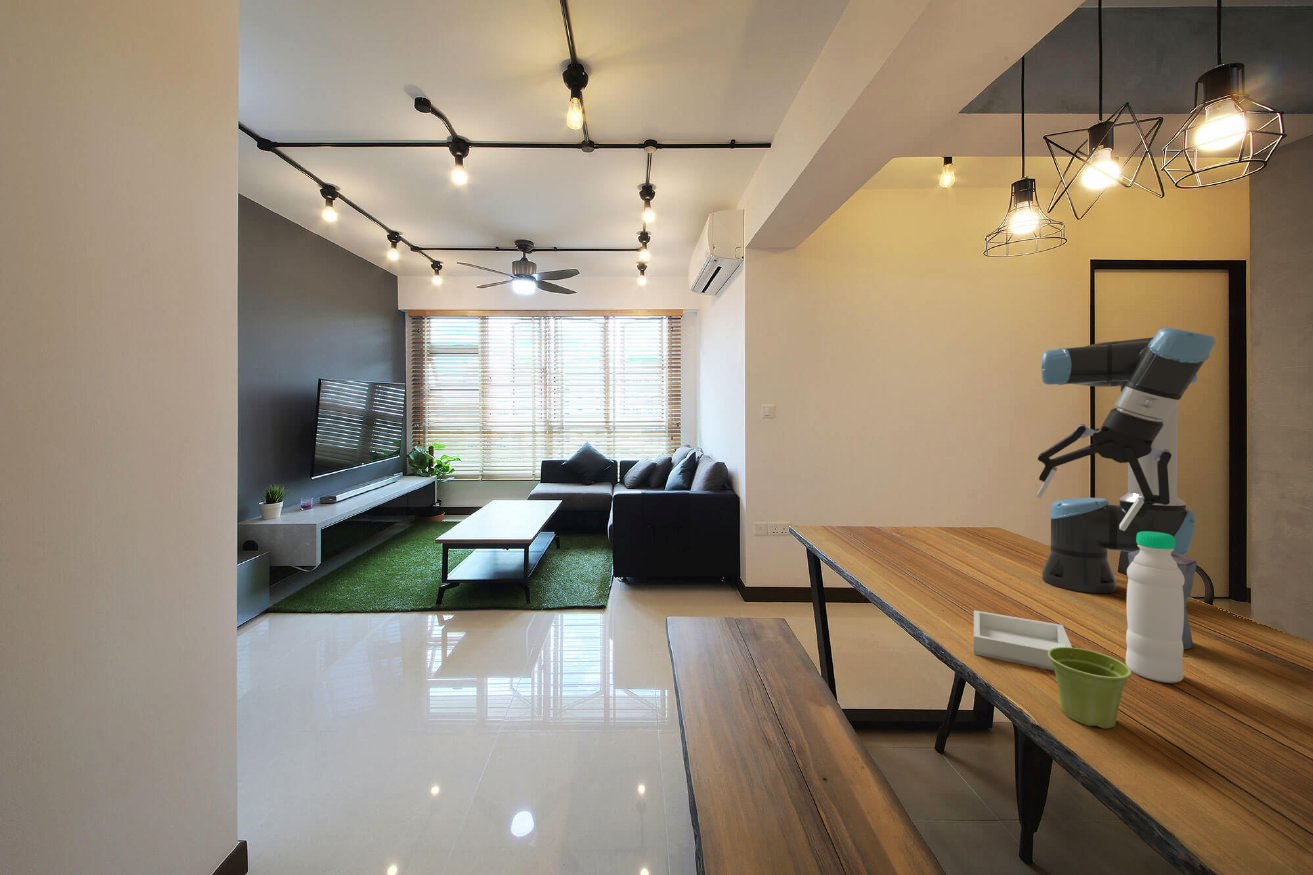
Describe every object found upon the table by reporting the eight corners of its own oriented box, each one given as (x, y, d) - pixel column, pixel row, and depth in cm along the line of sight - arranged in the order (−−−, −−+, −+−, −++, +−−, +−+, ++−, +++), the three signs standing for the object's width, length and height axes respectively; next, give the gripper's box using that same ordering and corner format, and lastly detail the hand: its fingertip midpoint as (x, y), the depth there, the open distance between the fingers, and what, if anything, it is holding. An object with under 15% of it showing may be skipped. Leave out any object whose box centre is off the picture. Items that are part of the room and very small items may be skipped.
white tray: (973, 625, 106) (973, 610, 106) (1062, 642, 98) (1062, 624, 98) (973, 653, 93) (973, 636, 93) (1075, 675, 85) (1075, 655, 85)
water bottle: (1195, 686, 81) (1197, 538, 80) (1145, 682, 82) (1147, 537, 82) (1160, 665, 88) (1162, 529, 87) (1115, 662, 89) (1116, 528, 89)
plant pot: (1109, 744, 67) (1110, 683, 67) (1034, 708, 76) (1034, 653, 76) (1144, 726, 71) (1145, 668, 71) (1068, 693, 80) (1068, 641, 79)
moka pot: (1127, 645, 96) (1128, 545, 95) (1125, 621, 107) (1126, 531, 106) (1199, 660, 89) (1201, 553, 89) (1189, 633, 101) (1190, 537, 100)
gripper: (1055, 394, 93) (1005, 488, 102) (1238, 445, 79) (1162, 550, 87) (1058, 389, 99) (1010, 479, 107) (1229, 436, 84) (1159, 536, 93)
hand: (1078, 511), depth 97 cm, fingers open, 13 cm apart
